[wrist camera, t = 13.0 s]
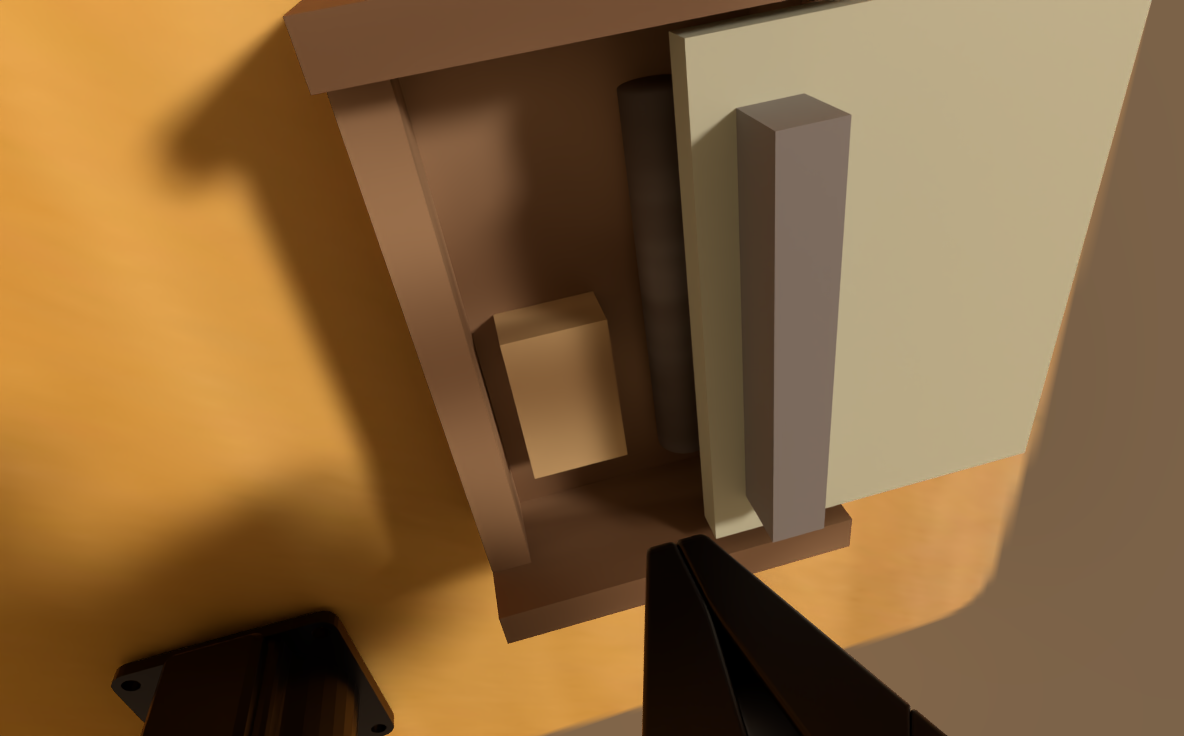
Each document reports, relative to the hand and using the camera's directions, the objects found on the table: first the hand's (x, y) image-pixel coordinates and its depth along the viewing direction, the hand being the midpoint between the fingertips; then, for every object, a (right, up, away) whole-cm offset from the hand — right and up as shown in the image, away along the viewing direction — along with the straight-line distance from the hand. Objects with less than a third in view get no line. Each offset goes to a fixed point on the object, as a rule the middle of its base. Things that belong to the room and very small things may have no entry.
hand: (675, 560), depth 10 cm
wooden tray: (-1, +5, +7) cm, 9 cm away
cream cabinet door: (+5, +5, +5) cm, 8 cm away
